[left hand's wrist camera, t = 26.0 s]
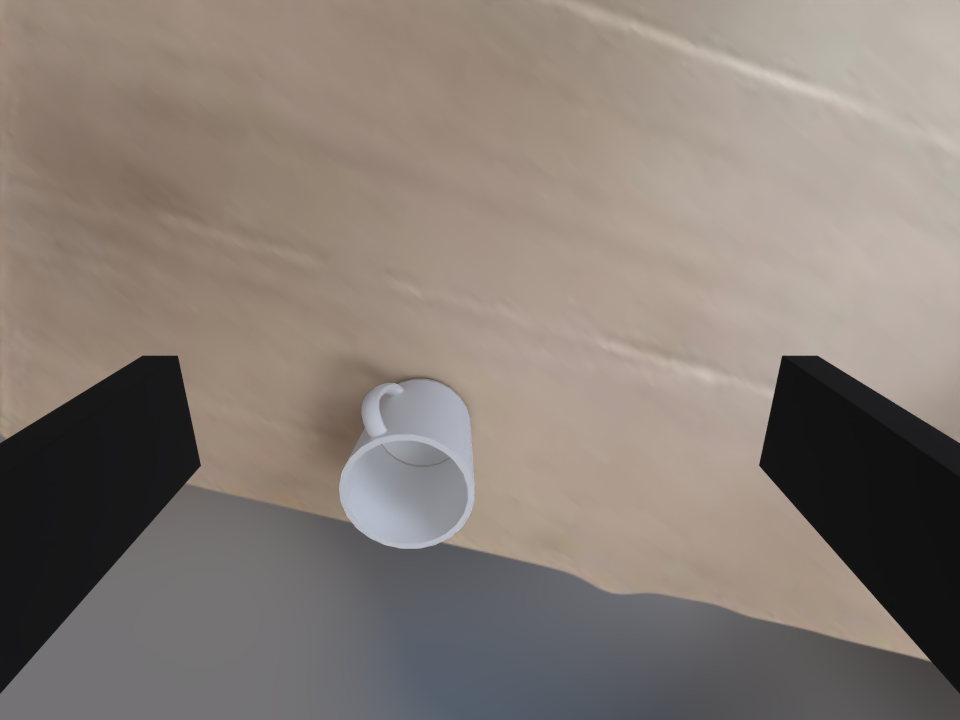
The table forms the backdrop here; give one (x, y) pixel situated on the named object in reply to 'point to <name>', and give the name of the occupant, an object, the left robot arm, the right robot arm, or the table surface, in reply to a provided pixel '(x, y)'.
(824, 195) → the table surface
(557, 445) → the table surface
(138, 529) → the left robot arm
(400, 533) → the mug
